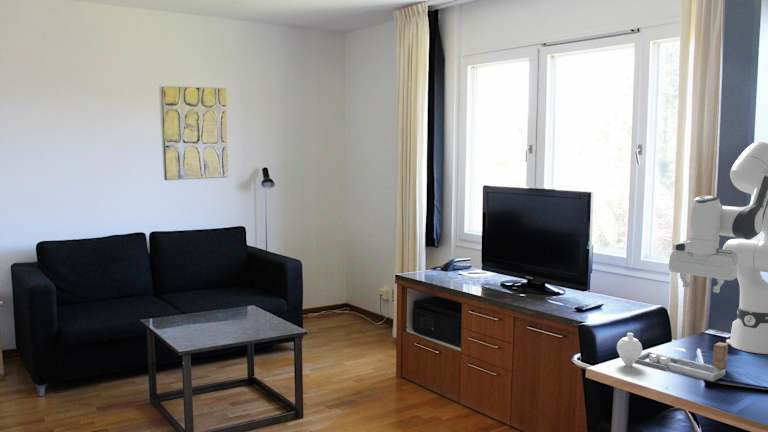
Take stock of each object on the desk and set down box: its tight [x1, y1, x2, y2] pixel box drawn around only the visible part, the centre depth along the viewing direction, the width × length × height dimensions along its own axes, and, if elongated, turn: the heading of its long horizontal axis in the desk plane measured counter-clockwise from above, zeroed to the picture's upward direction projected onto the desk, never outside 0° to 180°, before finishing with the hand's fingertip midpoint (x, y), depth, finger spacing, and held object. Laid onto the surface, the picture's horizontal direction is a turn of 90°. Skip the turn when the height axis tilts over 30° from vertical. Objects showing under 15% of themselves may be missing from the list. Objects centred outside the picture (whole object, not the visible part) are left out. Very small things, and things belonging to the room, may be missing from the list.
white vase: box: [616, 332, 643, 367], centre depth 216 cm, size 8×8×12 cm
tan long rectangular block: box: [711, 341, 729, 372], centre depth 213 cm, size 4×2×10 cm, turn 132°
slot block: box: [666, 357, 726, 383], centre depth 211 cm, size 9×14×4 cm, turn 42°
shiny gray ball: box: [648, 353, 661, 364], centre depth 221 cm, size 3×3×3 cm
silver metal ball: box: [658, 355, 671, 366], centre depth 218 cm, size 3×3×3 cm
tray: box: [634, 351, 679, 371], centre depth 220 cm, size 11×11×3 cm
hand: (700, 289), depth 217 cm, fingers open, 8 cm apart
